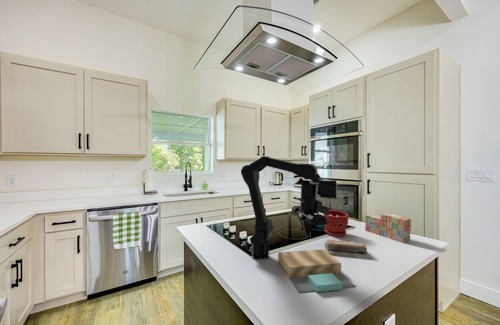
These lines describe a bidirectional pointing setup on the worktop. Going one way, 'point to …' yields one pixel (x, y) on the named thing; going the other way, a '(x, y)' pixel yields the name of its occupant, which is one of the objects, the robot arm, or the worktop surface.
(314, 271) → the board
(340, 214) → the plant pot
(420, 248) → the worktop surface
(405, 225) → the stack of blocks
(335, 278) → the teal rectangular block
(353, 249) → the packaged product
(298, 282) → the mat
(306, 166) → the robot arm
